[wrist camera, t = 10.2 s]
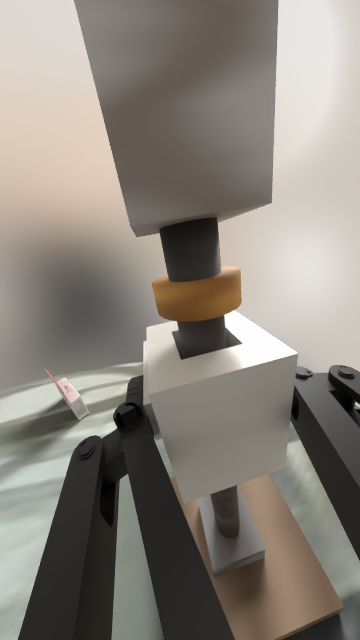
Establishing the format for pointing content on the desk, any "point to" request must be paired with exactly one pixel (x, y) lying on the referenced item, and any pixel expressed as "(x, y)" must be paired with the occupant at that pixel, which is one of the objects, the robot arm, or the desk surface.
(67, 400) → the ink cartridge box
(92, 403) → the desk surface
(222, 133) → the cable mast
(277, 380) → the sleeve
